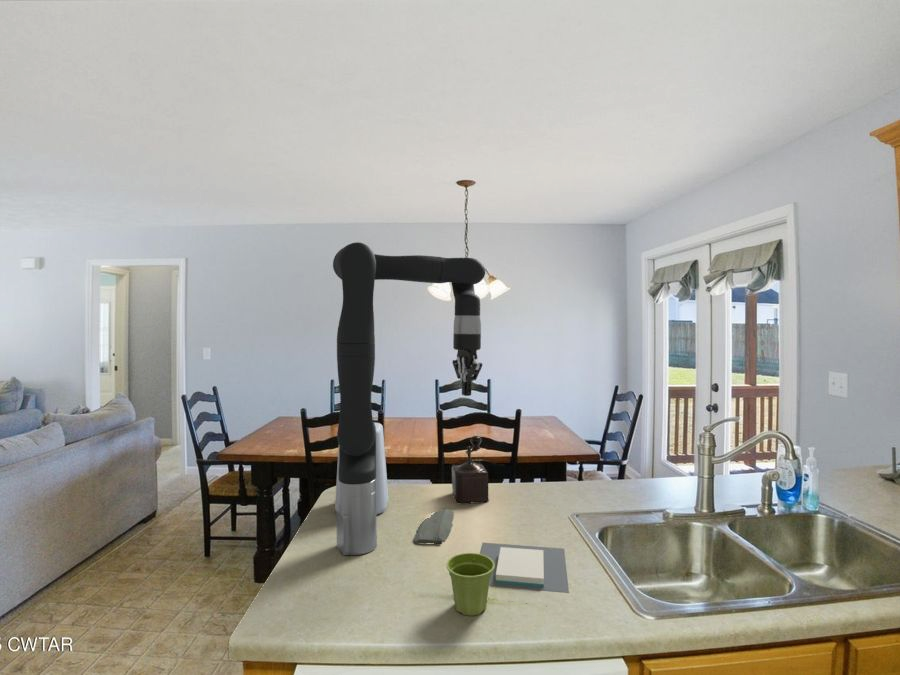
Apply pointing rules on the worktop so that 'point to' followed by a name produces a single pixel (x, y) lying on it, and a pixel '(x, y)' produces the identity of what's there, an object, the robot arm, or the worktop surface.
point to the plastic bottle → (380, 473)
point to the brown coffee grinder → (470, 478)
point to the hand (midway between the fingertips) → (466, 395)
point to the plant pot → (470, 581)
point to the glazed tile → (520, 567)
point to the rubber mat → (552, 567)
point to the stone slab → (435, 528)
